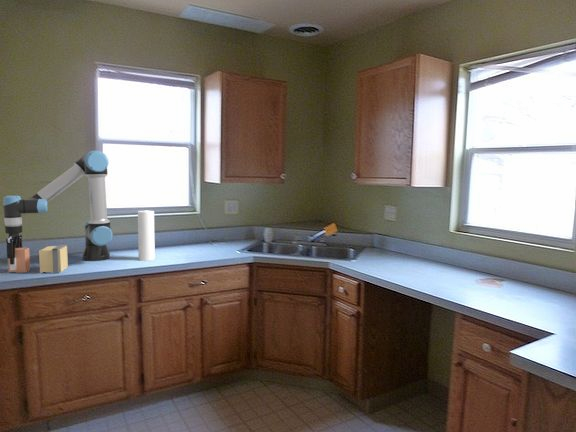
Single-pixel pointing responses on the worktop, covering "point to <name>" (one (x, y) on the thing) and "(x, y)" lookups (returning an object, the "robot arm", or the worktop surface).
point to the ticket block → (53, 258)
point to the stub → (21, 260)
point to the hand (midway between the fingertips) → (15, 268)
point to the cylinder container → (146, 235)
